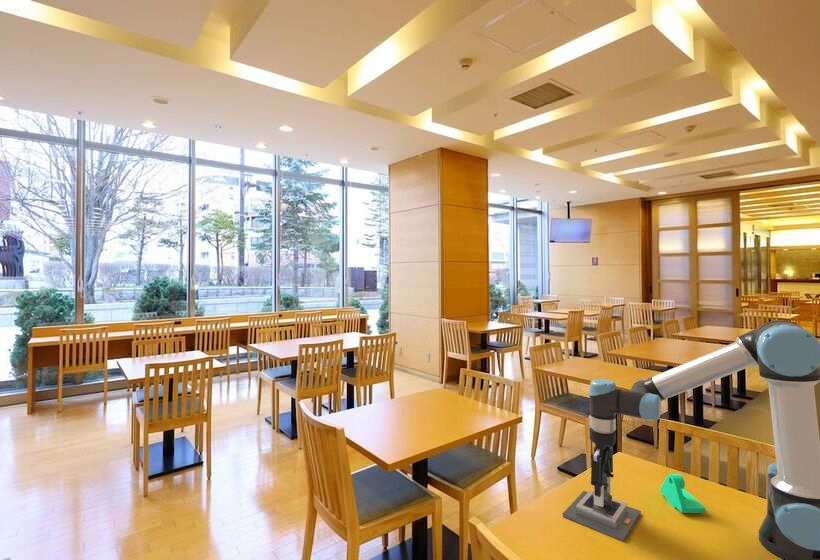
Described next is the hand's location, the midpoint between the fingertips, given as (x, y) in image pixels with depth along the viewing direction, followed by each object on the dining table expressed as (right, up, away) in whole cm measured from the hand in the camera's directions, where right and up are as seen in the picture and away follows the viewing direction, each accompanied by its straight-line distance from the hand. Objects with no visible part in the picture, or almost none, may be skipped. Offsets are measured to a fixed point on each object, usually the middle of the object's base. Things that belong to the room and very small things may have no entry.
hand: (602, 500), depth 132 cm
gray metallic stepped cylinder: (0, -2, 0) cm, 2 cm away
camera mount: (+29, -5, +6) cm, 30 cm away
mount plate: (0, -5, 0) cm, 5 cm away
